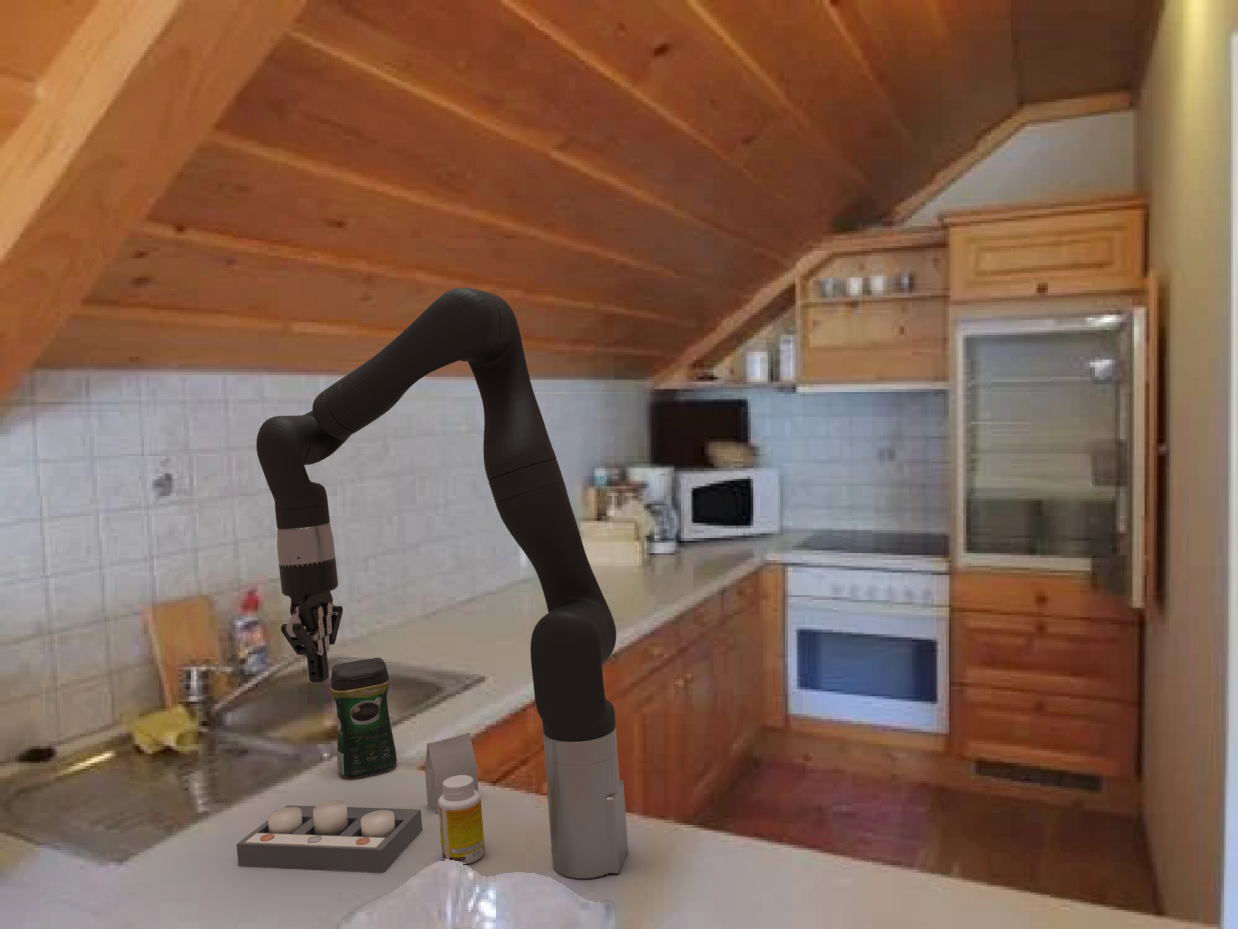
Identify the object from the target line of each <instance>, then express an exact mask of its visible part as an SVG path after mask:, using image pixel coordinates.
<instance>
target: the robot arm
mask: <svg viewBox="0 0 1238 929" xmlns="http://www.w3.org/2000/svg"><path fill="white" fill-rule="evenodd" d="M456 362H467V363H468V365H469V367H470V369H471V372H472V375H473V377H474V379H475V382H476V385H477V389H478V391H479V394H480V398H481V403H482V406H483V416H484V417H483V418H484V419H483V422H484V425H483V428H484V429H483V443H482V444H483V448H482V449H483V454H482V455H483V464H484V470H485V475H486V478H487V481H488V485H489V488H490V491H491V494H492V498H493V501H494V503H495V506H496V510H497V512H498V514H499V516H500V518H501V520H502V523H503V524H504V525H505V528H506V529H507V530H508V532H509V534H510V536H512V538H513V539H514V541H515V542H516V543H517V544H518V546H519V547H520V549H521V550H522V551H523V553H524V554H525V555H526V557H527V558H528V560H529V562H530V563H531V565H532V567H533V568H534V570H535V572H536V575H537V577H538V580H539V584H540V586H541V588H542V592H543V596H544V599H545V603H546V608H547V612H548V613H546V614H545V615H543V616H542V617H541V618H540V620H538V621H537V623H536V624H535V626H534V628H533V630H532V634H531V639H530V647H529V648H530V666H531V674H532V684H533V692H534V693H533V694H534V700H535V707H536V711H537V713H538V716H539V717H540V719H541V721H542V722H541V723H542V731H543V744H544V748H543V749H544V762H545V777H546V790H547V804H548V817H549V818H548V820H549V833H550V834H549V835H550V846H551V847H550V850H551V852H550V853H551V858H552V867H553V869H554V870H555V871H556V872H557V873H558V874H561V875H562V876H564V877H568V878H573V879H593V878H599V877H603V876H605V874H606V875H609V874H608V873H614V874H615V873H618V874H619V873H620V872H619V871H621V870H622V867H623V864H624V862H625V860H624V859H626V857H627V855H626V854H628V852H629V846H628V829H627V818H626V817H627V814H626V801H625V799H626V798H625V784H624V780H623V779H620V771H619V770H620V769H619V758H618V745H617V744H618V741H617V740H618V739H617V725H616V724H617V723H616V712H615V706H614V705H613V704H612V703H611V702H610V701H609V700H608V699H606V695H605V693H606V692H605V684H604V676H603V674H604V673H603V664H604V663H605V662H606V661H607V660H608V659H609V658H610V657H611V655H612V654H613V652H614V650H615V647H616V643H617V627H616V623H615V620H614V617H613V614H612V611H611V609H610V607H609V605H608V603H607V601H606V598H605V596H604V593H603V592H602V589H601V587H600V586H599V583H598V580H597V578H596V576H595V573H594V571H593V569H592V567H591V564H590V561H589V560H588V559H589V558H588V556H587V553H586V549H585V548H584V543H583V539H582V537H581V533H580V530H579V526H578V523H577V519H576V517H575V514H574V511H573V508H572V505H571V501H570V497H569V494H568V491H567V486H566V484H565V481H564V477H563V474H562V471H561V468H560V465H559V462H558V459H557V456H556V453H555V450H554V448H553V444H552V442H551V439H550V436H549V433H548V431H547V427H546V425H545V424H546V423H545V421H544V418H543V415H542V413H541V412H542V411H541V409H540V406H539V404H538V401H537V398H536V395H535V391H534V389H533V385H532V382H531V377H530V372H529V369H528V365H527V364H528V363H527V361H526V355H525V350H524V345H523V341H522V336H521V332H520V327H519V323H518V320H517V317H516V314H515V312H514V310H513V309H512V307H511V306H510V304H509V303H508V302H507V301H506V300H504V299H503V298H502V297H500V296H499V295H497V294H494V293H492V292H488V291H484V290H480V289H477V288H470V287H456V288H452V289H450V290H447V291H446V292H444V293H443V294H441V295H440V296H439V297H438V298H437V299H435V300H434V301H433V302H432V303H431V304H430V305H429V306H428V307H427V308H426V309H425V310H424V311H422V313H421V314H419V316H417V317H416V319H415V320H413V321H412V323H411V324H409V326H407V327H406V328H405V329H403V331H402V332H400V333H399V334H398V335H397V336H396V337H395V338H394V339H393V340H392V341H390V342H389V343H388V344H387V345H386V346H385V347H384V348H383V349H381V350H380V351H379V352H378V353H376V354H375V355H374V356H372V357H371V358H369V359H368V360H367V361H366V362H364V363H363V364H361V365H360V366H358V367H357V368H355V369H354V370H352V371H351V372H349V373H348V374H347V375H344V377H342V378H340V379H338V380H337V381H336V382H334V383H333V384H331V385H330V386H328V387H327V388H325V389H324V390H323V391H321V392H320V393H319V394H318V395H317V396H316V397H315V398H314V400H313V403H312V408H311V409H312V410H311V411H309V412H307V413H304V414H302V415H301V414H299V415H276V416H272V417H269V418H267V419H266V420H265V421H264V422H263V423H262V425H261V426H260V428H259V430H258V431H257V432H258V433H257V436H256V444H255V446H256V454H257V458H258V461H259V464H260V467H261V470H262V473H263V475H264V478H265V480H266V484H267V486H268V489H269V491H270V493H271V495H272V498H273V500H274V510H275V512H274V513H275V522H276V532H277V534H276V547H277V548H276V549H277V550H276V551H277V560H278V569H279V579H280V588H281V593H282V595H284V596H286V597H289V599H290V606H289V613H290V614H289V615H290V616H291V617H290V619H289V622H288V623H283V624H282V625H281V626H280V631H281V634H283V636H284V638H286V640H287V642H288V643H289V645H290V646H291V648H292V650H293V651H294V652H295V654H296V655H297V656H298V655H299V656H305V657H306V660H307V669H308V678H309V682H311V683H323V682H324V681H326V680H328V679H329V677H330V672H329V671H330V670H329V661H328V653H329V652H330V650H331V649H330V646H331V645H332V646H333V645H335V644H336V641H337V636H338V632H339V628H340V625H341V621H342V616H343V613H344V608H343V606H342V605H335V603H334V598H333V597H334V596H333V595H332V592H331V591H335V590H336V589H337V588H338V586H339V579H338V569H337V568H338V567H337V560H336V559H337V558H336V549H335V540H334V536H333V531H332V527H331V520H330V511H329V510H330V509H329V501H328V500H329V499H328V493H327V490H326V487H325V486H324V485H322V483H318V482H314V481H312V480H310V477H309V475H308V472H307V470H306V469H307V468H306V466H308V465H309V466H310V465H314V464H317V463H319V462H322V461H324V460H325V459H327V458H328V457H330V456H332V455H333V454H334V453H335V452H336V451H338V449H339V448H340V447H342V445H343V444H344V443H346V441H347V440H348V439H349V438H350V437H351V436H352V435H354V434H355V433H357V432H359V431H361V430H363V428H365V427H367V426H368V425H370V424H372V423H373V422H374V421H376V420H378V419H379V418H380V417H382V416H383V415H385V414H386V413H388V412H389V411H390V410H391V409H392V408H393V407H395V405H396V404H398V402H399V401H400V400H401V399H402V397H403V396H404V394H406V393H407V391H408V390H410V388H411V387H412V386H414V385H415V384H416V383H417V382H418V381H420V380H421V379H422V378H424V377H425V376H427V375H430V374H431V373H433V372H435V371H437V370H439V369H442V368H444V367H446V366H449V365H451V364H454V363H456ZM615 875H616V874H615Z"/></svg>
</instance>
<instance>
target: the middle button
mask: <svg viewBox="0 0 1238 929" xmlns="http://www.w3.org/2000/svg"><path fill="white" fill-rule="evenodd" d="M315 806H316V807H315V808H314V809H313V817H314V829H315V834H316V835H336V834H339V833H342V832H343V831H345V830H346V829H347V828H348V816H347V807H348V806H347V803H346V802H345V801H342V800H332V801H326V802H323V803H321V804H319V805H315Z"/></svg>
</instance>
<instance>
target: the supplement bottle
mask: <svg viewBox="0 0 1238 929" xmlns="http://www.w3.org/2000/svg"><path fill="white" fill-rule="evenodd" d="M478 791H479V790H478ZM478 791H476V790H474V783H473V778H472V777H470V776H467V775H458V776H453V777H450V778H448V779H446V780H445V781H444V782H443V795H442V796H441V797H440V798H439V800H438V809H439V814H438V822H439V831H440V832H439V834H440V845H441V846H440V847H441V856H442V859H443V860H444V859H449V860H455V861H459V862H462V863H466V864H465V865H469V864H472V863H474V862H477V861H478V860H479V859H481V858H482V857H483V855H484V853H485V838H484V837H485V836H484V824H483V811H482V797H481V794H480V791H479V792H478Z"/></svg>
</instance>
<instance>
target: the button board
mask: <svg viewBox="0 0 1238 929" xmlns="http://www.w3.org/2000/svg"><path fill="white" fill-rule="evenodd" d="M316 806H317V805H292V804H291V805H290V804H287V805H286V806H284V807H283V808H287V807H297V808H300V809H301V812H302V824H303V825H302V826H301V827H300V828H298V829H297V830H296V831H295V832H294V833H292V834H283V833H269V826H268V819H267V820H266V821H265V822H264V823H262V824H261V825H259V826H258V827H257V828H256V829H254V830H253V831H252V832H250V833H249V834H248V835H246V836H245V837H244V838H242V839H241V840H240V841H239V842H237V843H236V856H237V866H238V867H252V868H254V867H255V868H273V869H274V868H275V869H276V868H277V869H296V870H297V869H298V870H299V869H300V870H315V871H316V870H319V871H340V872H341V871H343V872H359V873H362V872H363V873H384V872H385V871H387V869H388V868H389V867H391V865H392V864H393V863H394V862H395V861H396V860H397V858H399V856H400V855H401V854H402V853H403V852H404V851H405V850H406V849H407V848H408V846H409V845H410V844H411V843H412V842H413V841H414V840H415V839H416V838H417V837H418V836H419V834H420V833H421V832H422V831H423V822H422V821H423V818H422V809H420V808H392V807H391V808H387V807H385V808H384V807H359V806H358V807H356V806H354V807H353V806H352V807H350V806H347V816H348V828H347V829H346V830H345V831H343V832H342V833H339V834H336V835H316V834H315V829H314V817H313V809H314V808H315V807H316ZM378 810H389V811H392V812H393V813H394V819H395V830H394V831H393V832H392V833H391V834H390V835H389V836H388V837H364V836H362V831H361V818H362V817H363V816H364V815H366V814H368V813H370V812H373V811H378Z"/></svg>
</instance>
